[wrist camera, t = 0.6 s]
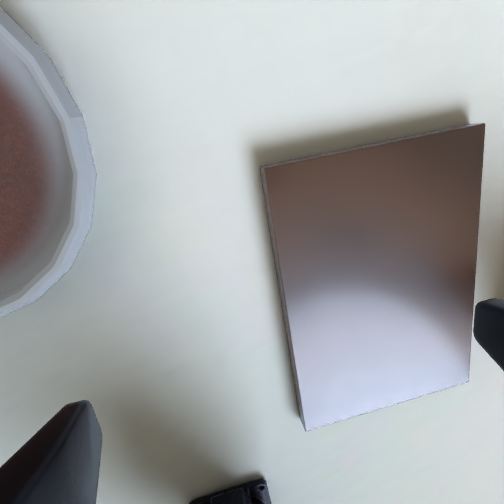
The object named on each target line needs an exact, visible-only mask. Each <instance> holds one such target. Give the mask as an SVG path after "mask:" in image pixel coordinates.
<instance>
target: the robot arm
mask: <svg viewBox="0 0 504 504" xmlns="http://www.w3.org/2000/svg"><path fill="white" fill-rule="evenodd" d="M473 333H474V337H475V339H476V340H477V342H478V343H479V344H480V345H481V346H482V348H483V349H484V350H485V351H486V352H487V353H488V354H489V355H490V356H491V357H492V359H493V360H494V361H495V362H496V363H497V364H498V365H499V366H500V367H501V369H502V370H503V371H504V300H503V299H497V298H494V299H489V300H485V301H481V302H479V303H477V305H476V307H475V316H474V328H473ZM101 448H102V432H101V428H100V425H99V423H98V420H97V418H96V415H95V413H94V410H93V407H92V405H91V403H90V402H89V401H87V400H82V401H78V402H74V403H70V404H67V405H65V406H64V407H63V408H62V409H61V410H60V411H59V412H58V413H57V414H56V415H55V416H54V417H53V418H51V419H50V420H49V421H48V422H47V423H46V424H45V425H44V426H43V427H42V428H41V429H40V430H39V431H38V432H37V433H36V434H35V435H34V436H33V437H32V438H31V439H30V440H29V441H27V442H26V443H25V444H24V445H23V446H22V447H21V448H20V449H19V450H18V451H17V452H16V453H15V454H14V455H13V456H12V457H11V458H10V459H9V460H8V461H7V462H6V463H4V464H3V465H2V466H1V467H0V504H96V497H97V487H98V477H99V467H100V458H101ZM189 504H271V501H270V496H269V492H268V488H267V483H266V481H265V480H264V479H259V480H256V481H253V482H250V483H246V484H243V485H240V486H237V487H234V488H231V489H227V490H224V491H221V492H218V493H215V494H212V495H209V496H205V497H202V498H199V499H196V500H193V501H191V502H190V503H189Z"/></svg>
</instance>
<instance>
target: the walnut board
mask: <svg viewBox="0 0 504 504" xmlns="http://www.w3.org/2000/svg"><path fill="white" fill-rule="evenodd" d="M484 136H485V123H481V124H467V125H462V126H458V127H453V128H448V129H443V130H438V131H433V132H428V133H423V134H418V135H413V136H408V137H403V138H398V139H393V140H388V141H383V142H378V143H374V144H369V145H364V146H359V147H354V148H349V149H344V150H339V151H334V152H329V153H324V154H319V155H314V156H309V157H304V158H299V159H294V160H290V161H285V162H280V163H275V164H270V165H265V166H260V171H261V177H262V184H263V190H264V196H265V202H266V208H267V214H268V221H269V227H270V233H271V239H272V245H273V252H274V258H275V264H276V270H277V276H278V283H279V289H280V295H281V301H282V307H283V314H284V320H285V326H286V332H287V338H288V345H289V351H290V357H291V363H292V369H293V376H294V382H295V388H296V394H297V400H298V407H299V413H300V419H301V422H302V424H303V427H304V429H305V431H309V430H312V429H316V428H319V427H322V426H325V425H329V424H332V423H335V422H339V421H342V420H345V419H348V418H352V417H355V416H358V415H362V414H365V413H368V412H371V411H375V410H378V409H381V408H385V407H388V406H391V405H394V404H398V403H401V402H404V401H408V400H411V399H414V398H417V397H421V396H424V395H427V394H431V393H434V392H437V391H440V390H444V389H447V388H450V387H453V386H457V385H460V384H463V383H467V382H468V381H469V365H470V350H471V335H472V320H473V304H474V289H475V274H476V258H477V243H478V228H479V213H480V197H481V182H482V167H483V152H484Z"/></svg>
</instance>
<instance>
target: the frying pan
mask: <svg viewBox="0 0 504 504" xmlns="http://www.w3.org/2000/svg"><path fill="white" fill-rule="evenodd" d="M96 175H97V174H96V170H95V165H94V161H93V157H92V153H91V148H90V144H89V140H88V136H87V131H86V127H85V123H84V118H83V116H82V114H81V112H80V110H79V109H78V107H77V105H76V103H75V101H74V100H73V98H72V96H71V94H70V93H69V91H68V89H67V87H66V86H65V84H64V82H63V80H62V79H61V77H60V75H59V73H58V72H57V70H56V68H55V66H54V65H53V63H52V61H51V59H50V57H49V56H48V55H47V54H46V53H45V52H44V51H43V50H42V49H41V48H40V47H39V46H38V45H37V44H36V43H35V42H34V41H33V40H32V38H31V37H30V36H29V35H28V34H27V33H26V32H25V31H24V30H23V29H22V28H21V27H20V26H19V25H18V24H17V23H16V22H15V21H14V20H13V19H12V18H11V17H10V16H9V15H8V14H7V13H6V12H5V11H4V10H3V9H2V8H1V7H0V317H2V316H5V315H7V314H9V313H11V312H13V311H15V310H17V309H20V308H22V307H24V306H26V305H28V304H30V303H33V302H35V301H36V300H37V299H38V298H39V297H40V296H42V295H43V294H44V293H45V292H46V291H47V290H48V289H49V288H50V287H51V286H52V285H53V284H54V283H56V282H57V281H58V280H59V279H60V278H61V277H62V276H63V275H64V274H65V273H66V272H67V271H68V270H70V269H71V267H72V265H73V262H74V260H75V258H76V256H77V254H78V252H79V250H80V248H81V246H82V244H83V242H84V240H85V238H86V236H87V234H88V232H89V230H90V228H91V226H92V216H93V206H94V195H95V185H96Z"/></svg>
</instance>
